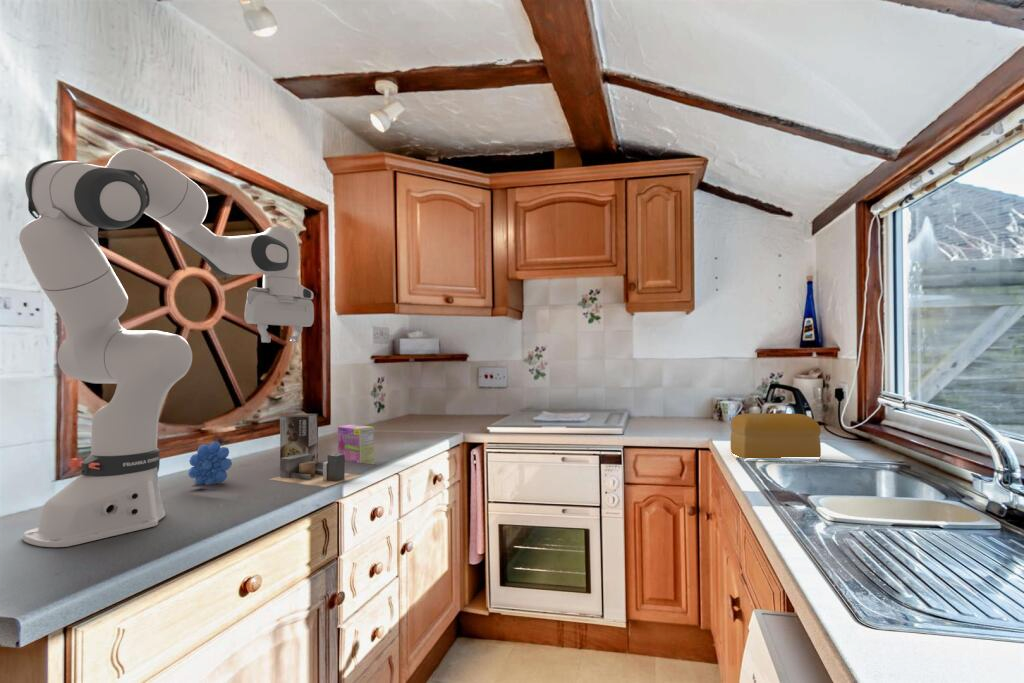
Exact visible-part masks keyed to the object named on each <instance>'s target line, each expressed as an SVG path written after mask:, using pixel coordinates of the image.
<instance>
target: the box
mask: <svg viewBox="0 0 1024 683" xmlns="http://www.w3.org/2000/svg"><path fill="white" fill-rule="evenodd" d="M337 449H338V450H337V452H338V454H345V462H348V463H349V462H350V463H356V464H367V465H368V464H369V465H375V426H368V425H360V424H359V425H358V424H345V425H344V424H343V425H339V426H338V427H337Z"/></svg>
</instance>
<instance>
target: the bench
mask: <svg viewBox="0 0 1024 683" xmlns="http://www.w3.org/2000/svg"><path fill="white" fill-rule="evenodd" d="M309 461H311V462H312V454H306V453H302V454H298V455H293V456H289V457H284V458H281V461H280V460H279V466H280V470H279V471H280V472H279V475H280V476H277V477H272V478H268V480H269V481H275V482H277V481H278V482H283V483H284V482H285V483H291V484H298V485H306V486H312V487H313V486H314V487H321V488H327V487H330V486H334V485H336V484H340V483H343V482H345V481H350V480H352V479H355V478H359V477H362V476H363V475H362V474H354V473H348V472H347V473H346V472H345V474H344V479H343V480H340V481H337V482H335V481H328V480H327V481H325V480H323V469H318V468H317V469H316V468H315V476H314V477H311V475H309V474H301V473H299V463H301V462H309Z"/></svg>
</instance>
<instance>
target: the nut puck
mask: <svg viewBox="0 0 1024 683" xmlns="http://www.w3.org/2000/svg"><path fill="white" fill-rule="evenodd" d="M315 469H316V464H315V462H311V461H309V462H301V463H299V473H301V474H309V475H311V477H314V476H315Z"/></svg>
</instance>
